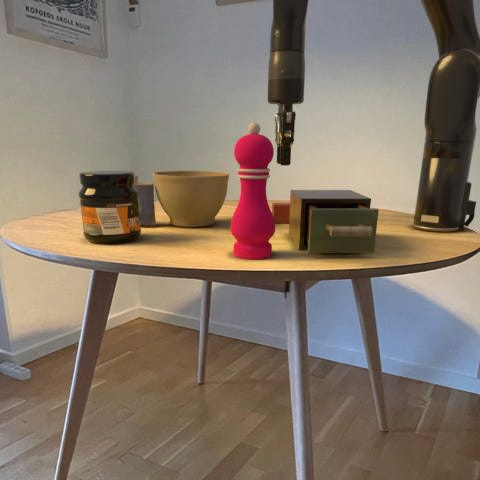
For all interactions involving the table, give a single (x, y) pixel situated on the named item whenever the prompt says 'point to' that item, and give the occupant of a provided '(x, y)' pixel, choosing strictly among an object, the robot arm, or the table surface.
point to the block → (281, 212)
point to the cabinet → (316, 197)
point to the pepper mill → (253, 197)
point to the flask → (146, 203)
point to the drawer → (340, 228)
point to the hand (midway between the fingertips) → (283, 164)
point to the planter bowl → (191, 195)
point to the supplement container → (109, 206)
